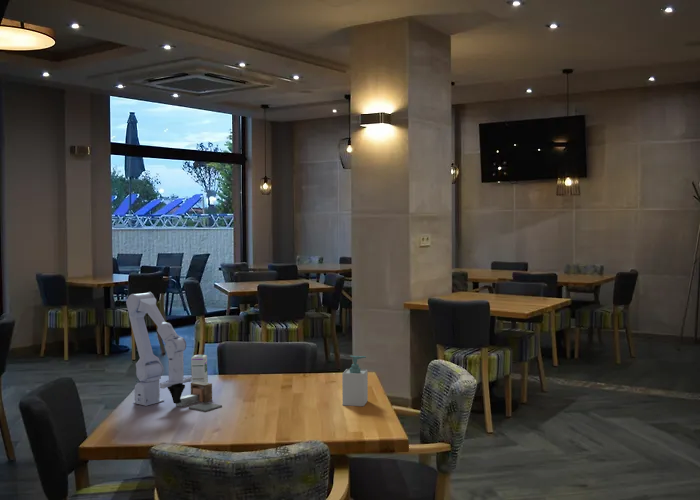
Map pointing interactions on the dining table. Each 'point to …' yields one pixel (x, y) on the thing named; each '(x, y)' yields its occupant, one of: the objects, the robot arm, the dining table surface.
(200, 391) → the block
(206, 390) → the bracket
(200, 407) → the coaster
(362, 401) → the soap bottle
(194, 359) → the syrup box
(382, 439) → the dining table surface
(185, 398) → the silver square bar
